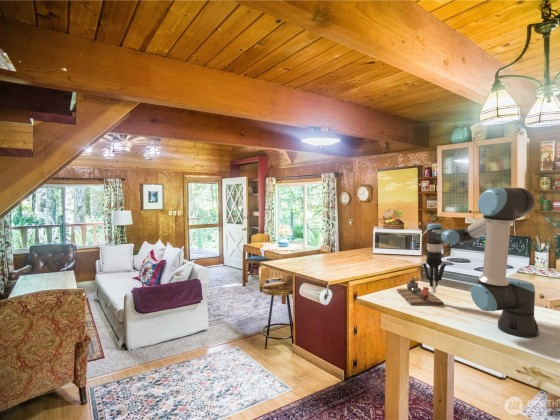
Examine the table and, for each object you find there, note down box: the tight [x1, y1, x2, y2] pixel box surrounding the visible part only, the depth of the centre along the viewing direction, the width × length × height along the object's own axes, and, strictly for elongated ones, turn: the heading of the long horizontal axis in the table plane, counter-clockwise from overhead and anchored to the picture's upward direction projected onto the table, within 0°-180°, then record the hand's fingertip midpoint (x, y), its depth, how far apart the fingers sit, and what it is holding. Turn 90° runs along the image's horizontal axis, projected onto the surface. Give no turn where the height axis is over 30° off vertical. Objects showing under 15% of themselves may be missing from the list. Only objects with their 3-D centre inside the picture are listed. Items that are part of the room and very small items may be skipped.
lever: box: [410, 286, 429, 299], centre depth 195 cm, size 20×6×7 cm, turn 177°
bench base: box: [396, 276, 445, 306], centre depth 196 cm, size 26×18×10 cm
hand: (433, 292), depth 187 cm, fingers closed
